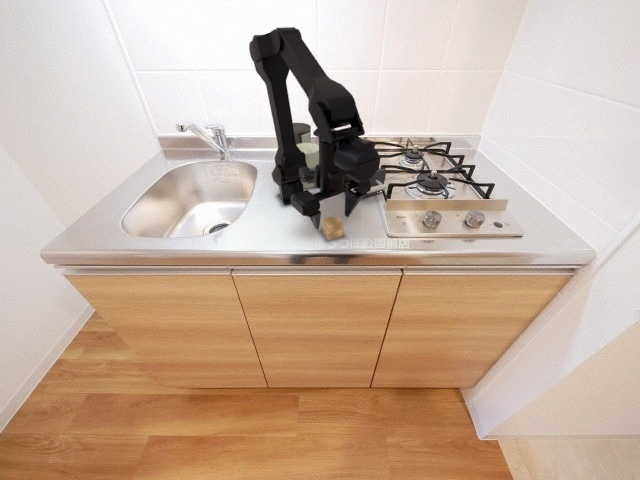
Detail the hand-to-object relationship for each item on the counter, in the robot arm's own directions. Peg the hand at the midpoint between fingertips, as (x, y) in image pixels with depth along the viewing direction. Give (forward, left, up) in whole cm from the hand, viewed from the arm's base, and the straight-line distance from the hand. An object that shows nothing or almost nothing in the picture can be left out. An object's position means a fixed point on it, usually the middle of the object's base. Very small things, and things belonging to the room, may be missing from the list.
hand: (332, 222), depth 62 cm
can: (+4, +29, -4) cm, 30 cm away
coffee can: (+6, +42, -4) cm, 43 cm away
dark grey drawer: (+17, +15, -3) cm, 23 cm away
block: (0, 0, -4) cm, 4 cm away
